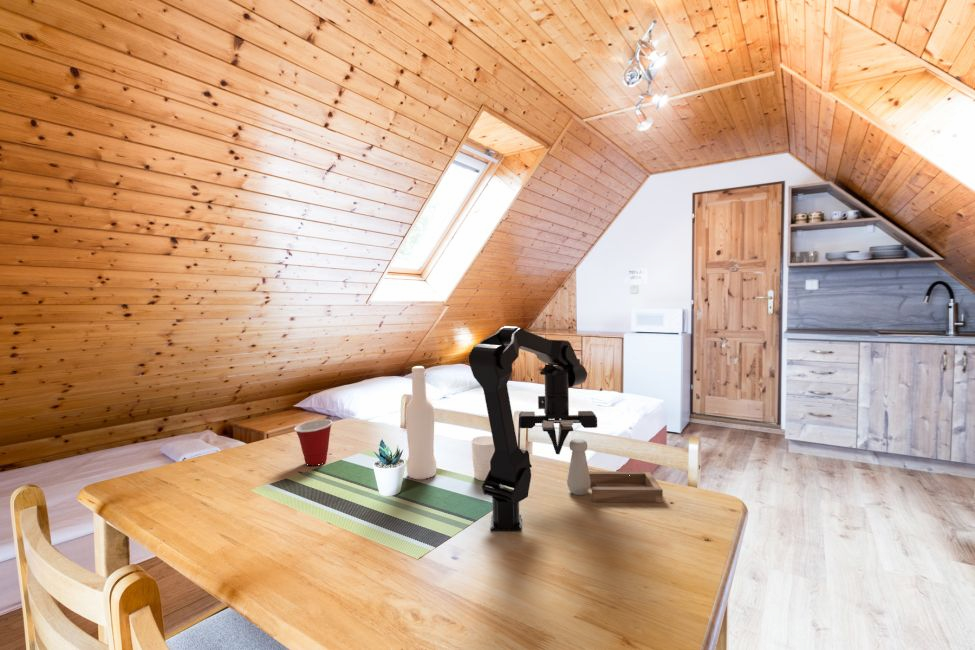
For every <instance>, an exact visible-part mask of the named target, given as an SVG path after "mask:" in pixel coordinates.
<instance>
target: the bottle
mask: <svg viewBox="0 0 975 650" xmlns="http://www.w3.org/2000/svg"><path fill="white" fill-rule="evenodd" d="M425 371H426V370H425V367H424V366H423V365H416V366H413V367H412V368H411V378H412V379H411V381H412V382H411V384H412V388H411V389H412V397H411V399H410V400H409V402H408V403H407V404H406V407H405V411H404V413H405V414H404V415H405V426H406V435H407V436H406V437H407V438H406V439H407V446H408V447H407V449H408V458H407V461H406V473H407V475H408V477H409V478H410V479H412V478H413V480H426V478H428V479H430V477H431V478H432V477H434V476H435V474H436V473H437V459H436V457H435V453H434V445H435V444H434V443H435V442H434V441H435V409H434V405H433V403H432V401H430V399H429V398H428V397H427V387H426V373H425Z"/></svg>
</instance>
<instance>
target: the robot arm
mask: <svg viewBox="0 0 975 650" xmlns="http://www.w3.org/2000/svg"><path fill="white" fill-rule="evenodd" d="M520 350H522V351H525V352H529V353H531V354H534V355H535V356H536V358H537V360H540V361H541V362H542V363H546V364H545V365H544V367H543V368H542V369H541V370H540V371H539V374H540V375H541V376H544V395H541V396H540V395H538V397H537V408H538V409H539V410H544V411H543V412H544V415H535V414H536V413H535V411H520V412H519V413H518V428H520V429H533V428H534V427H535V426H536V424H541V428H542V432H547V435H548V437H549V439H550V440H551V443H552V445H553V449H554V452H555V455H560V454H561V450H562V448H563V446H564V443H565V441H566V439H567V437H568V434H569V432H574V428H573V425H574V424H580V425H581V426H582V427H583V428H584V429H585V428H587V429H589V428H590V429H591V428H592V429H594V428H595V429H596V428H598V417H597V416H596V414H595V413H594V411H593V410H578V411H577V412H578V413H577V414H569V413H570V407H569V405H570V404H569V402H570V401H569V399H570V398H569V388H573V387H576V386H579V385H582V384H583V383H585V382H586V380H587V379H588V372H587V370H586V369H587V368H585V367H584V365H583V364H582V363H581V359H579V358H578V357H577V355H576V352H575V351H574V348H573V346H572V343H571V342H570V341H569V340H563V339H562V340H559V339H549V338H546V337H544V336H540V335H538V334H535V333H533V332H530V331H528V330H526V329H524V328H522V327H521V326H506V325H505V326H502V327H501V328H499V329H498V330H497V331H496V332H495V333H493V334H491V335H489V336H487V337H486V338H484V339H482V340H481V341H480V342H479V343H478V344H476V345H474V346H473V347H472V349H471V351H470V353H469V354H468V365H469V367H470V369H471V373H472V376H473V378H474V379H475V380H476V381H477V383H478V384H479V385H480V386H481V388H482V389H483V394H484V395H483V396H484V400H485V404H486V410H487V416H488V420H489V426H490V431H491V432H490V433H491V436H492V438H493V443H494V448H495V451H494V453H493V456H492V458H491V460H490V471H489V473H488V475H487V477H486V479H485V481H483V483H482V485H481V489H482V492H483V495H487V496H490V497H491V498H492V499H491V500H492V503H491V504H492V505H491V506H492V514H491V519H490V525H489V527H490V529H489V530H490V531H511V532H512V531H513V532H514V531H522V514H520V502H521V501H523V500H525V499H526V498H528V496H529V492H530V491H529V490H530V486H531V485H530V484H531V480H532V470H531V468H532V467H533V465H532V464H531V461H530V453H529V450H528V449H523V448H520V447H519V445H518V441H517V435H516V429H515V423H514V418H513V411H512V407H511V405H512V404H511V401H510V395H509V394H510V393H509V388H508V382H509V380H510V378H511V375H512V373H513V365H512V364H513V363H514V362H515V361H516V360H517V359H518V358H519V356H520V355H519V354H520ZM555 424H558V437H557V435H556V434H557V433H556V428H555Z"/></svg>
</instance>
